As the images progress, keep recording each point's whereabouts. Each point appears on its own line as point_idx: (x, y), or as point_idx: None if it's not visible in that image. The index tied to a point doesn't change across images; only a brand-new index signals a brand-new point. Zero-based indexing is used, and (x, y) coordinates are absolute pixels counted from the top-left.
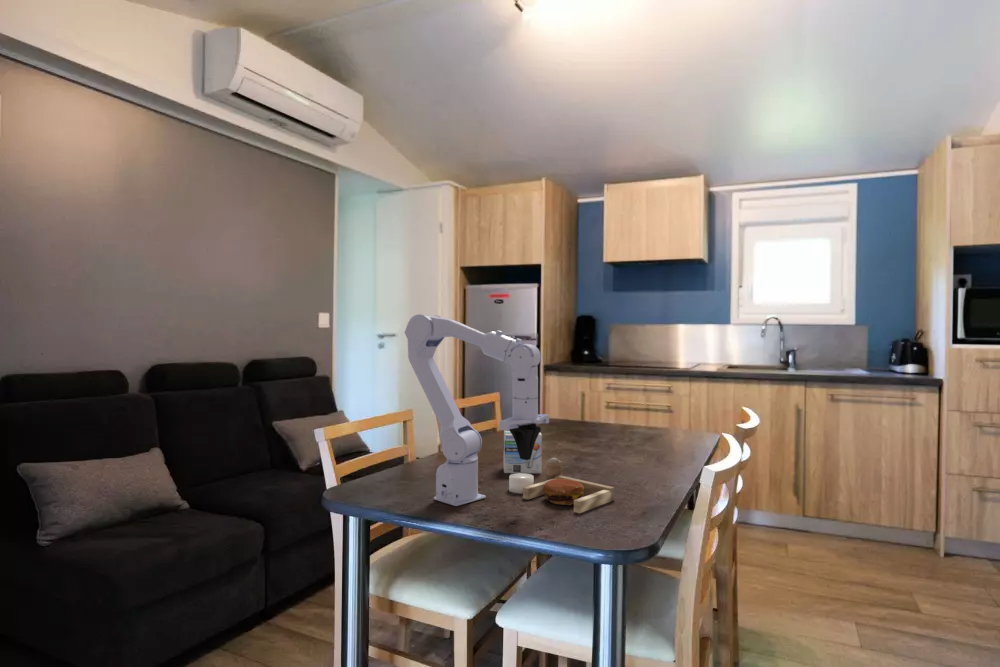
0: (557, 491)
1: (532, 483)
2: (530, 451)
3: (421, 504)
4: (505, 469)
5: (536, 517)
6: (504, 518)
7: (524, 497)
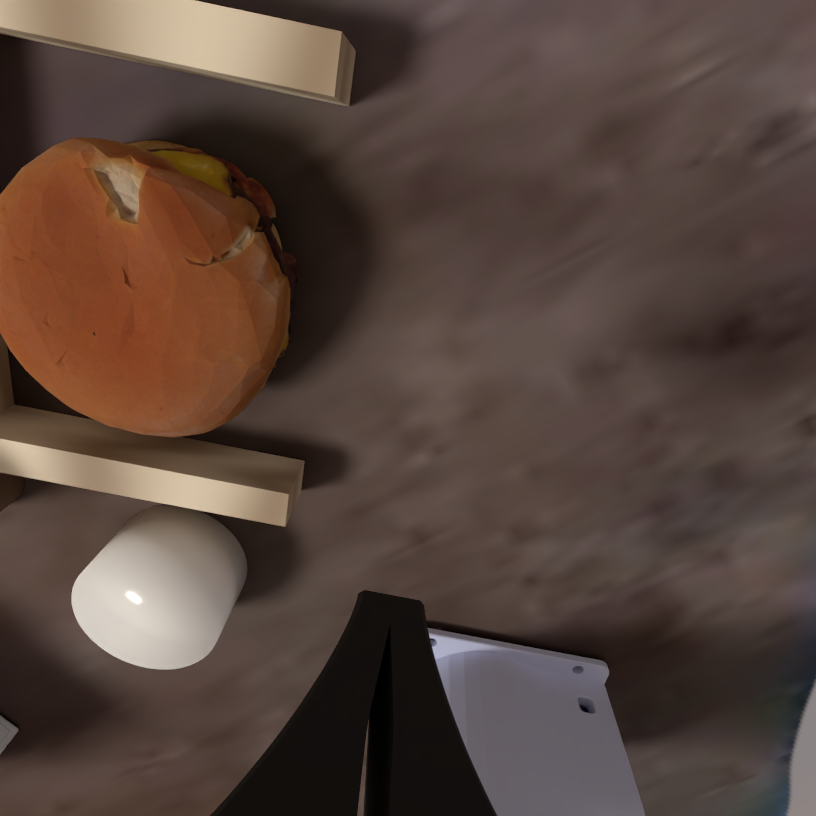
0: (276, 282)
1: (141, 533)
2: (378, 652)
3: (634, 765)
4: (2, 743)
5: (571, 269)
6: (668, 410)
7: (300, 485)
